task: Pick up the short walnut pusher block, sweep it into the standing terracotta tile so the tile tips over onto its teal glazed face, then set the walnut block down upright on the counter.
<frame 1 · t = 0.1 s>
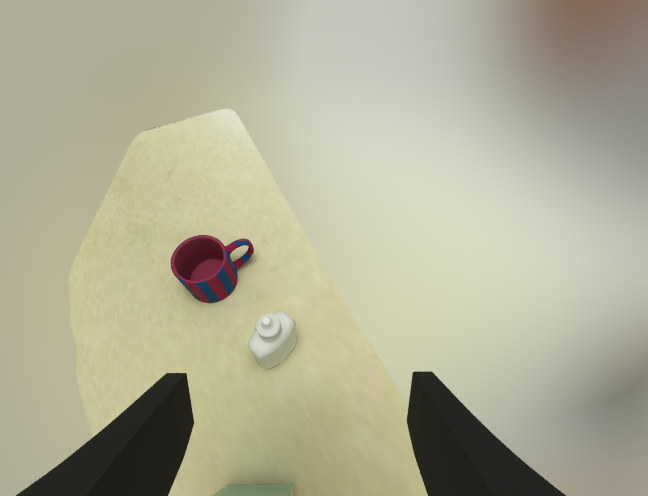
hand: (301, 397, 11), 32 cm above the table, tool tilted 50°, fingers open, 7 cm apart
mug: (225, 276, 47), on the table
eye dropper bottle: (277, 348, 43), on the table
tile: (260, 492, 35), on the table
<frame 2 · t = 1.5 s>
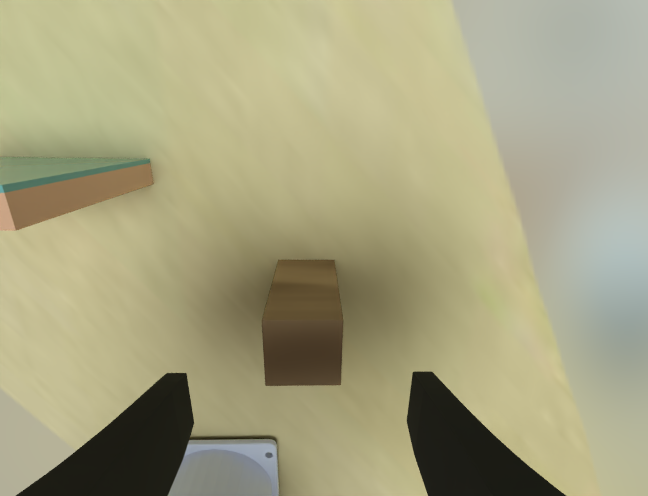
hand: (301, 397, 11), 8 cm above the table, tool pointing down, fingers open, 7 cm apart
tile: (78, 172, 16), on the table
pusher block: (306, 285, 18), on the table
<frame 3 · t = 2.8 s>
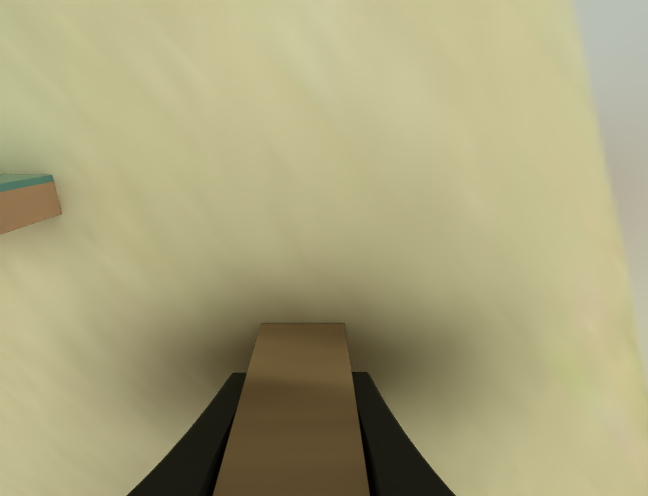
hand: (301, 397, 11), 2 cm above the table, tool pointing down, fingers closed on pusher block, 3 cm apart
pusher block: (303, 358, 12), on the table, touching gripper
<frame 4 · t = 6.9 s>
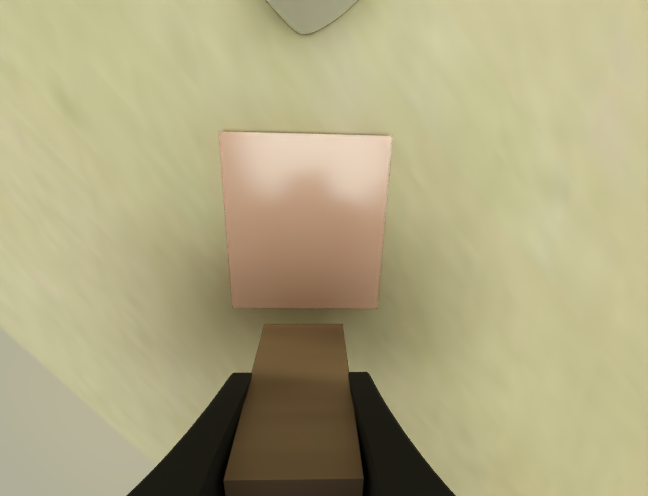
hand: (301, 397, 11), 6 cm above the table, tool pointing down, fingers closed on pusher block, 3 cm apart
tile: (305, 303, 17), on the table, tilted 90°
pusher block: (303, 356, 13), point 4 cm above the table, touching gripper
when the fingers open (3 cm above the table, at t = 10.2 s): pusher block stays where it is, on the table.
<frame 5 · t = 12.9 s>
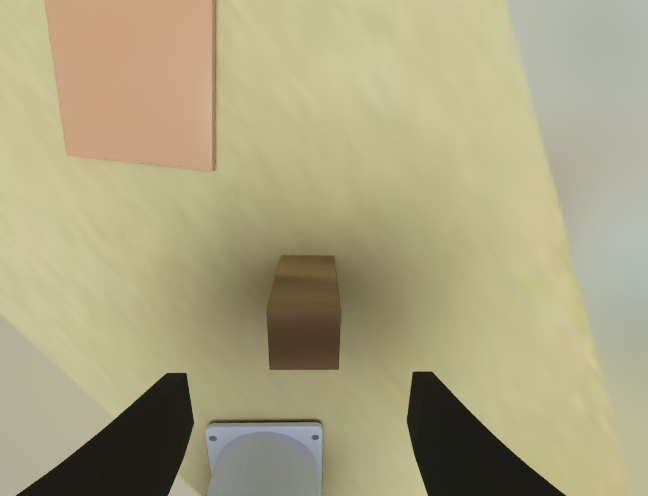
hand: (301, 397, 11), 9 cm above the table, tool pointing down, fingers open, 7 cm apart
tile: (145, 162, 17), on the table, tilted 90°
pusher block: (307, 279, 20), on the table
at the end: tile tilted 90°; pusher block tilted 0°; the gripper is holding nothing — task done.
